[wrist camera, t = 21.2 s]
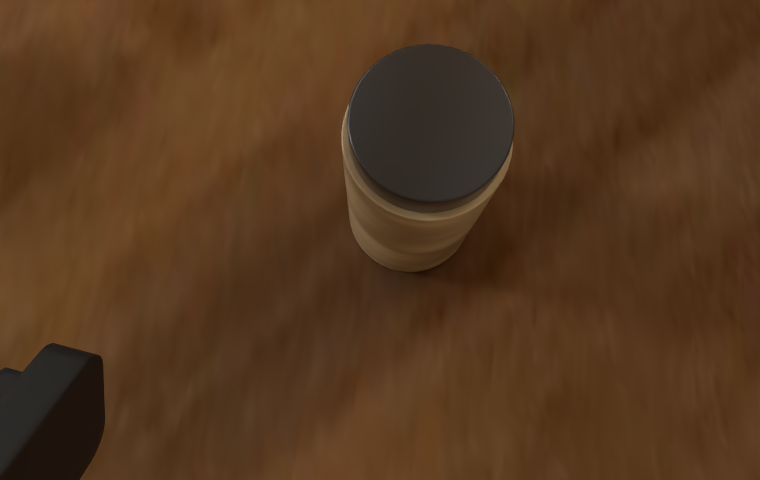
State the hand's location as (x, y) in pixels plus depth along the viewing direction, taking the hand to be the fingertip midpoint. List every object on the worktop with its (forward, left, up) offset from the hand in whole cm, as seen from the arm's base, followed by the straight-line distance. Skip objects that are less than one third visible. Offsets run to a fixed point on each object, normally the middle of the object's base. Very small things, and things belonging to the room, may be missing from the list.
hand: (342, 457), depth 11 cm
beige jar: (0, -8, -16) cm, 18 cm away
